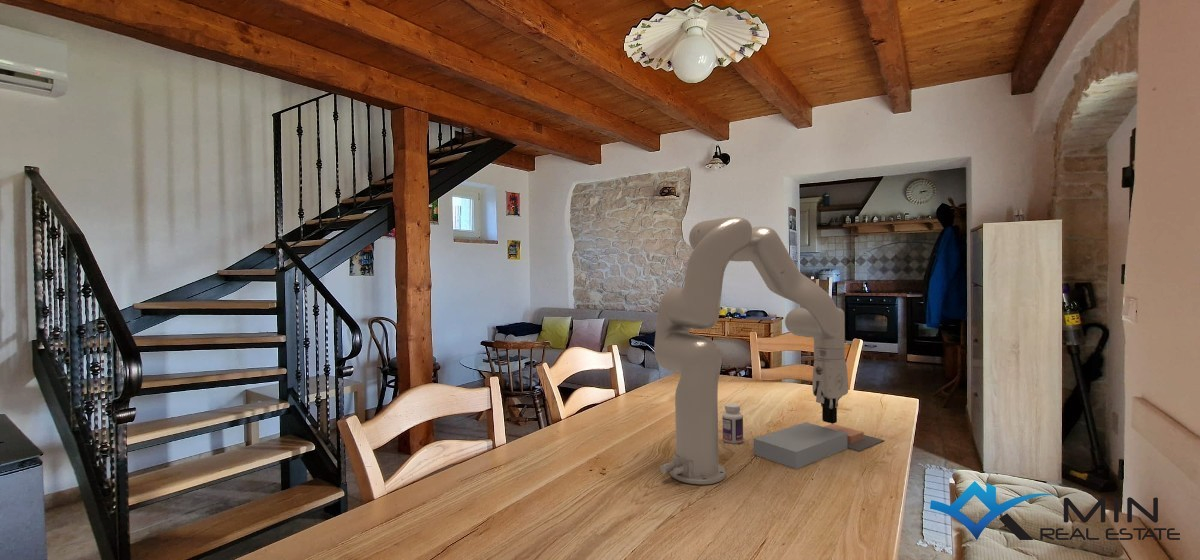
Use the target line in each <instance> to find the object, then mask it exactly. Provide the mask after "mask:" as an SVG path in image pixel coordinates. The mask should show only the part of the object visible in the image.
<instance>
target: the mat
mask: <svg viewBox="0 0 1200 560" xmlns="http://www.w3.org/2000/svg"><path fill="white" fill-rule="evenodd" d="M885 440H886V439H881V438H878V437H874V436H870V435H867V434H864V439H863V440H861V441H858V442H855V443H852V444H849V443H847V449H846V450H852V451H855V452H858V453H860V452H862V451H864V450H867V449H870V448H872V447H874V446H876V445H879V444H883V443H884V442H885Z"/></svg>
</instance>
